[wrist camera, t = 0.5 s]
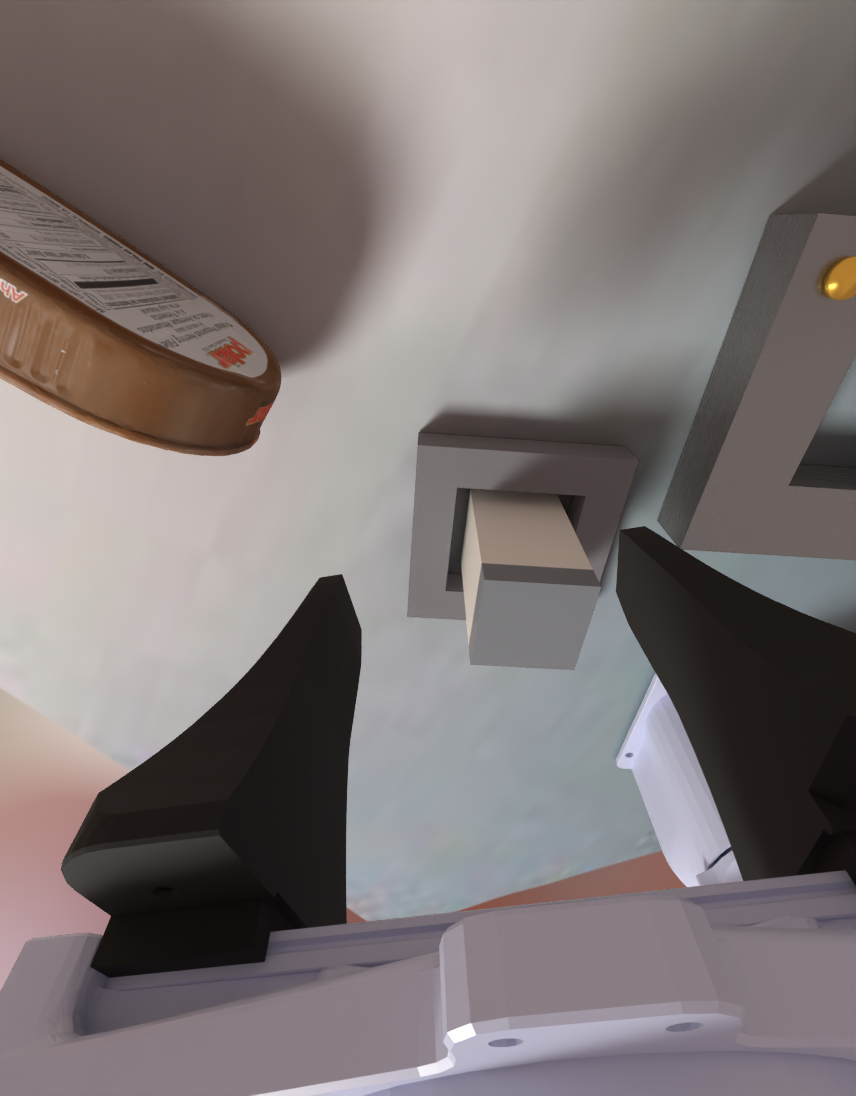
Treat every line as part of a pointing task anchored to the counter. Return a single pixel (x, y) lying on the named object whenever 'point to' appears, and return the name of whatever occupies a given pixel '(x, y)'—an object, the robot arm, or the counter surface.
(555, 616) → the plug
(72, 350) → the tin
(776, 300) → the port block
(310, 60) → the counter surface
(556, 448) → the gray square frame
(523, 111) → the counter surface
